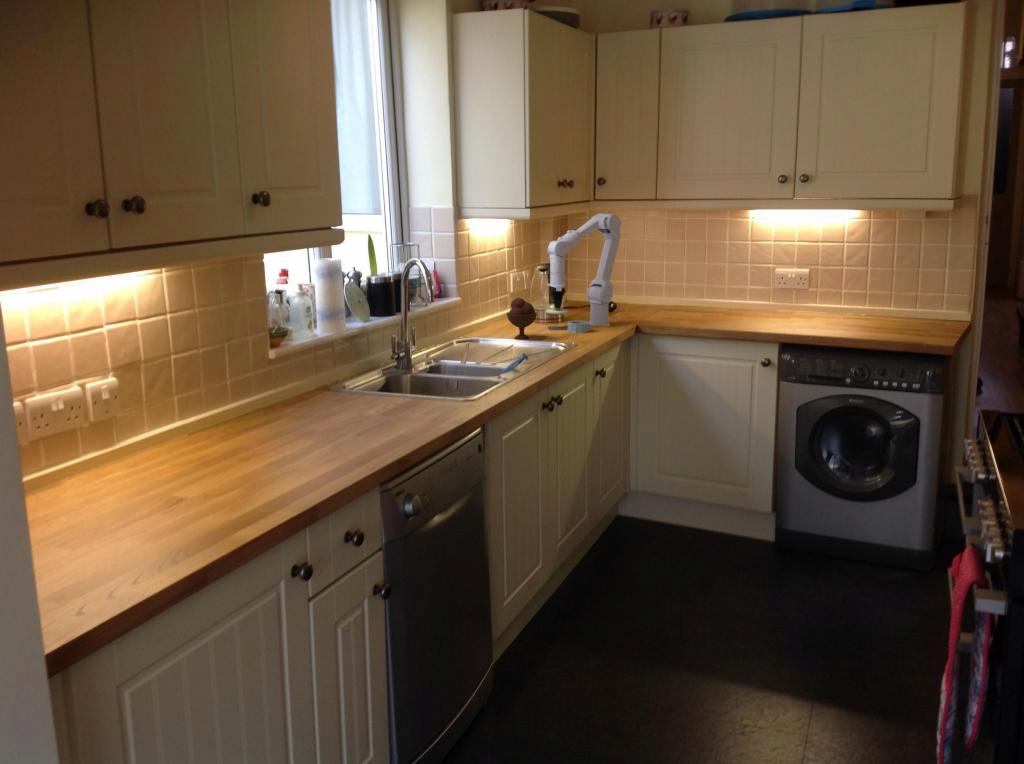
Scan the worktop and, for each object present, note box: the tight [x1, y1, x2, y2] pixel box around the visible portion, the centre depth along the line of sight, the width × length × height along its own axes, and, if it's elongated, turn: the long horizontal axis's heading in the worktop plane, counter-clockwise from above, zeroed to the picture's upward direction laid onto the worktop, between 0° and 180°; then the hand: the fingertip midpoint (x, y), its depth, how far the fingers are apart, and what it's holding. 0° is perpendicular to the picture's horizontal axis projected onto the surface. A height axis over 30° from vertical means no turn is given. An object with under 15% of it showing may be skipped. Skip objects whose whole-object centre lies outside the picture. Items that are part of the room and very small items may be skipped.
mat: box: [547, 325, 568, 331], centre depth 376 cm, size 9×7×1 cm
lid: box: [545, 304, 570, 315], centre depth 374 cm, size 9×9×5 cm
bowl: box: [567, 320, 590, 334], centre depth 368 cm, size 8×8×4 cm
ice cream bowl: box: [506, 297, 538, 341], centre depth 355 cm, size 11×11×15 cm
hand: (557, 307), depth 374 cm, fingers closed on lid, 2 cm apart
